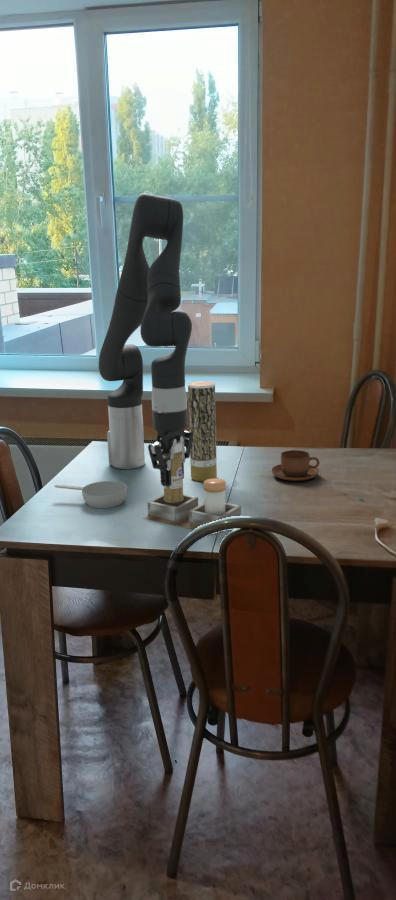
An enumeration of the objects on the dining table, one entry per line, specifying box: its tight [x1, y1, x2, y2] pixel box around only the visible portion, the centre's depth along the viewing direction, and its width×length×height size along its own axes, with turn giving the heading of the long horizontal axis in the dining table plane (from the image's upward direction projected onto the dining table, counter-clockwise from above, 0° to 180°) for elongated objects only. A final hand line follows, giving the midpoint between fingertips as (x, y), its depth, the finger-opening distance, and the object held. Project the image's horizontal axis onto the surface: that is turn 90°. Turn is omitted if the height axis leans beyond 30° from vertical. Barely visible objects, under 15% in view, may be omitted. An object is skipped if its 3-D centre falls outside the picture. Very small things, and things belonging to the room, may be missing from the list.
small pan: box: [54, 480, 128, 509], centre depth 166 cm, size 11×18×4 cm, turn 78°
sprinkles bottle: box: [162, 442, 184, 503], centre depth 152 cm, size 5×5×13 cm
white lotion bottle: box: [203, 477, 226, 516], centre depth 147 cm, size 5×5×9 cm
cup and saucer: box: [271, 449, 320, 482], centre depth 179 cm, size 12×12×6 cm
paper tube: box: [187, 380, 218, 483], centre depth 176 cm, size 7×7×25 cm
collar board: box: [143, 493, 242, 536], centre depth 151 cm, size 19×12×4 cm, turn 57°
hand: (172, 482), depth 152 cm, fingers closed on sprinkles bottle, 4 cm apart
